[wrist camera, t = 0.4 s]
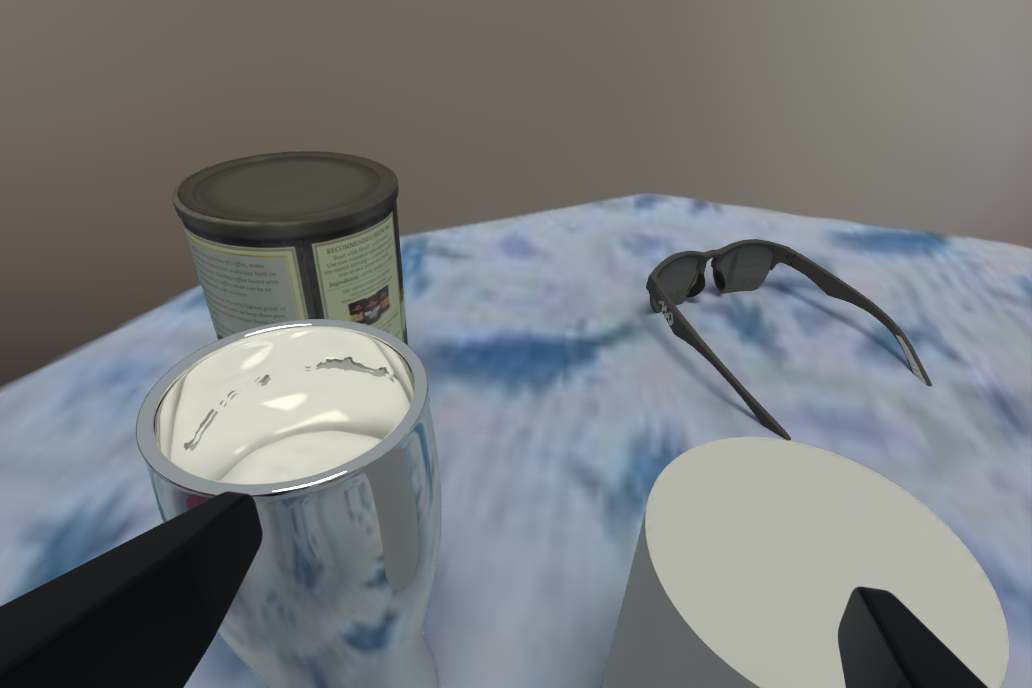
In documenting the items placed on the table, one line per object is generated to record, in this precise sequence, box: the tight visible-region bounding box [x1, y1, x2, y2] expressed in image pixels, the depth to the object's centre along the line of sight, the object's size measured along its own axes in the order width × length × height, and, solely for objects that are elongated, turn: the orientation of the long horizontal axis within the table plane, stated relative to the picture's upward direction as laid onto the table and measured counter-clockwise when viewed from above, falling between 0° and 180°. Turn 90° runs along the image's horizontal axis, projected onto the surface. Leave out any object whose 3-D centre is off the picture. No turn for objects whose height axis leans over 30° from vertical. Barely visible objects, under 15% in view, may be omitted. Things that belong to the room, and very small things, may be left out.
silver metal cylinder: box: [136, 319, 442, 688], centre depth 18 cm, size 7×7×15 cm
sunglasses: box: [646, 239, 932, 440], centre depth 43 cm, size 16×17×5 cm
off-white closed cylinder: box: [602, 437, 1009, 688], centre depth 18 cm, size 8×8×12 cm
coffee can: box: [172, 151, 408, 345], centre depth 33 cm, size 10×10×14 cm
